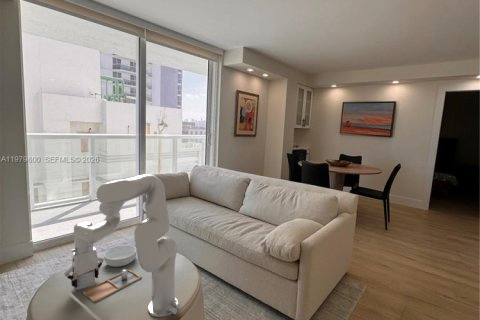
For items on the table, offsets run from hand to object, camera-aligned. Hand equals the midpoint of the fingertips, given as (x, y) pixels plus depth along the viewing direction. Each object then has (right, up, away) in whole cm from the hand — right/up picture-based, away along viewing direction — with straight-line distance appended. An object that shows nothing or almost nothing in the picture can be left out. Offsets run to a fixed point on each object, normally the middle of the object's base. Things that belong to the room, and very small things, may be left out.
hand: (85, 281), depth 121 cm
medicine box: (0, -3, +1) cm, 3 cm away
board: (+13, -4, +1) cm, 13 cm away
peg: (+16, -2, +6) cm, 17 cm away
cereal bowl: (+6, -1, +23) cm, 24 cm away
